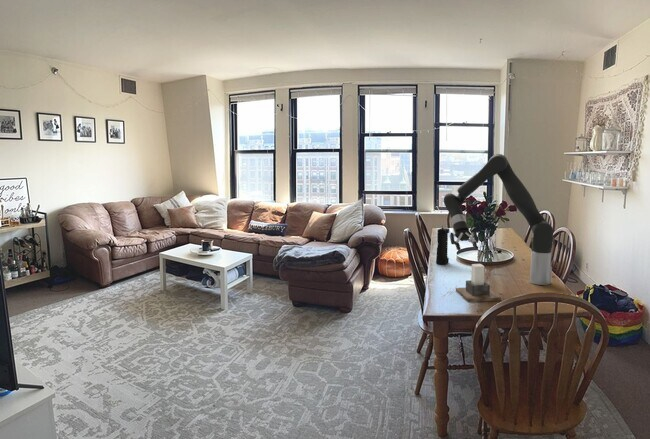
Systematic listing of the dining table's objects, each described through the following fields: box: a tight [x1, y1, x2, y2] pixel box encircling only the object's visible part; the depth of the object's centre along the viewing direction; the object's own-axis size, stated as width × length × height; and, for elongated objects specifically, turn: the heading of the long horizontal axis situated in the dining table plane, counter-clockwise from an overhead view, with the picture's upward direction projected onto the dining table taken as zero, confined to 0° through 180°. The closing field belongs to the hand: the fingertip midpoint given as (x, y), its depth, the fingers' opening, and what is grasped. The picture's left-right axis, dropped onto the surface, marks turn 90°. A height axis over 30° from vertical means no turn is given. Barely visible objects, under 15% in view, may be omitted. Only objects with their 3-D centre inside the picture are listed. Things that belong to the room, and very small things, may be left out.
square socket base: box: [455, 279, 502, 303], centre depth 201 cm, size 16×16×6 cm
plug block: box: [470, 263, 485, 285], centre depth 200 cm, size 4×4×14 cm
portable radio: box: [435, 225, 450, 266], centre depth 259 cm, size 8×6×25 cm
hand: (467, 249), depth 212 cm, fingers open, 8 cm apart
